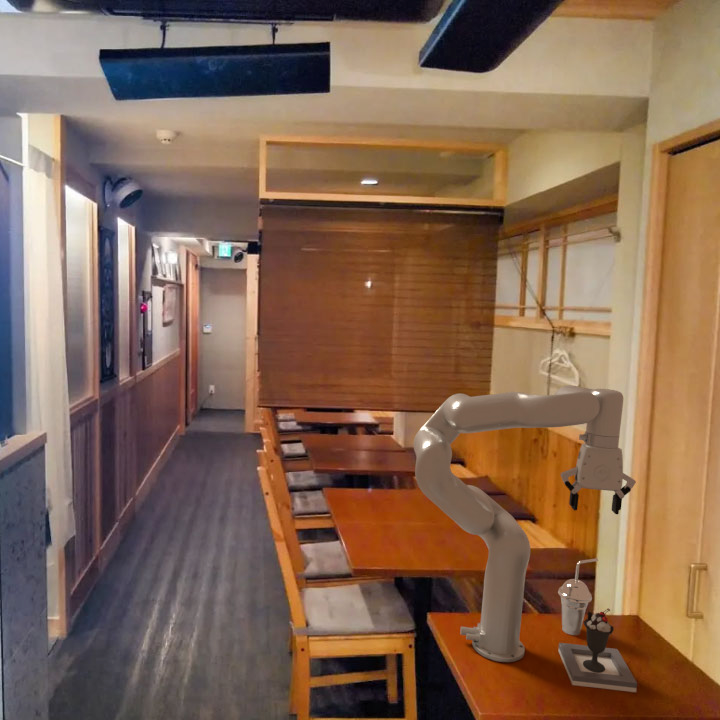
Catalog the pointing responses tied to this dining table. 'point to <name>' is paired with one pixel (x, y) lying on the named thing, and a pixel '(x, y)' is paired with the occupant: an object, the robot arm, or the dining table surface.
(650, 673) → the dining table surface
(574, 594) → the cup with straw
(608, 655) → the square picture frame
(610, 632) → the sundae
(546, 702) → the dining table surface
